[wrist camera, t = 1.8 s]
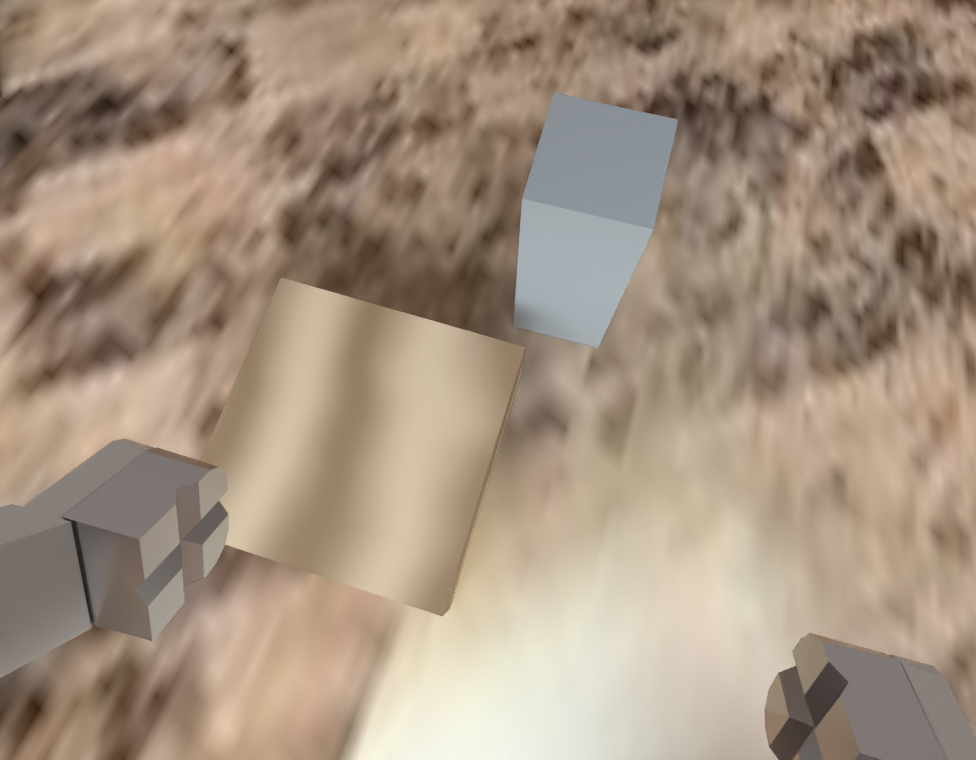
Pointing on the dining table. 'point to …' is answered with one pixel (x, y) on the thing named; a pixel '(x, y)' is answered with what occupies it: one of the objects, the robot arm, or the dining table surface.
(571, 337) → the slate block
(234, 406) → the birch block
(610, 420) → the dining table surface
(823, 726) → the robot arm
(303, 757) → the dining table surface
